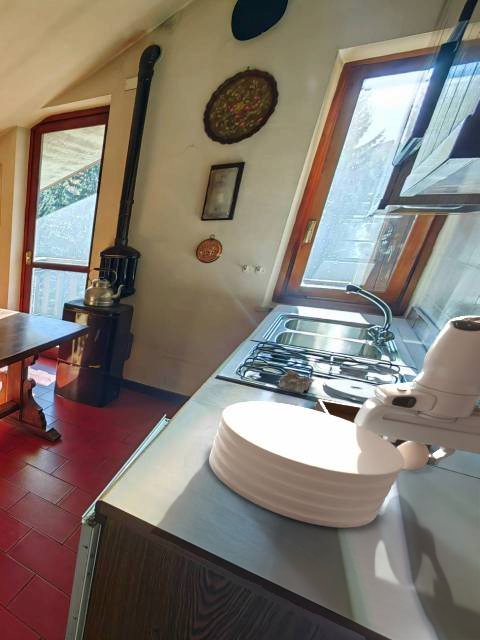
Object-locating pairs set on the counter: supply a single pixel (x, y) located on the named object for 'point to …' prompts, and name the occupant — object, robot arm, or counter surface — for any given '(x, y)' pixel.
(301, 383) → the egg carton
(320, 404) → the tray
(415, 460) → the egg
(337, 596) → the counter surface
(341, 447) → the plate stack
